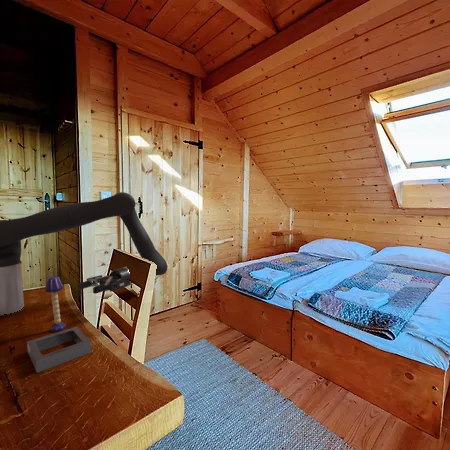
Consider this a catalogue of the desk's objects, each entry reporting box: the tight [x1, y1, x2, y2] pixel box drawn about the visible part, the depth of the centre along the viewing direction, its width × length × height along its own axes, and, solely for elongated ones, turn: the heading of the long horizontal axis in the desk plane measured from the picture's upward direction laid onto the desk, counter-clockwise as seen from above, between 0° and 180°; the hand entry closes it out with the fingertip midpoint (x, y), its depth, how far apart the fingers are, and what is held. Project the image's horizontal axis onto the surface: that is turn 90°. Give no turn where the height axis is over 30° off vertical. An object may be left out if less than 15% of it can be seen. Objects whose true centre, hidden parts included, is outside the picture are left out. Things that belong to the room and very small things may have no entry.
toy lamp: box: [44, 275, 67, 333], centre depth 83 cm, size 5×5×17 cm
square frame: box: [26, 326, 92, 374], centre depth 71 cm, size 12×12×3 cm
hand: (86, 288), depth 92 cm, fingers open, 8 cm apart
